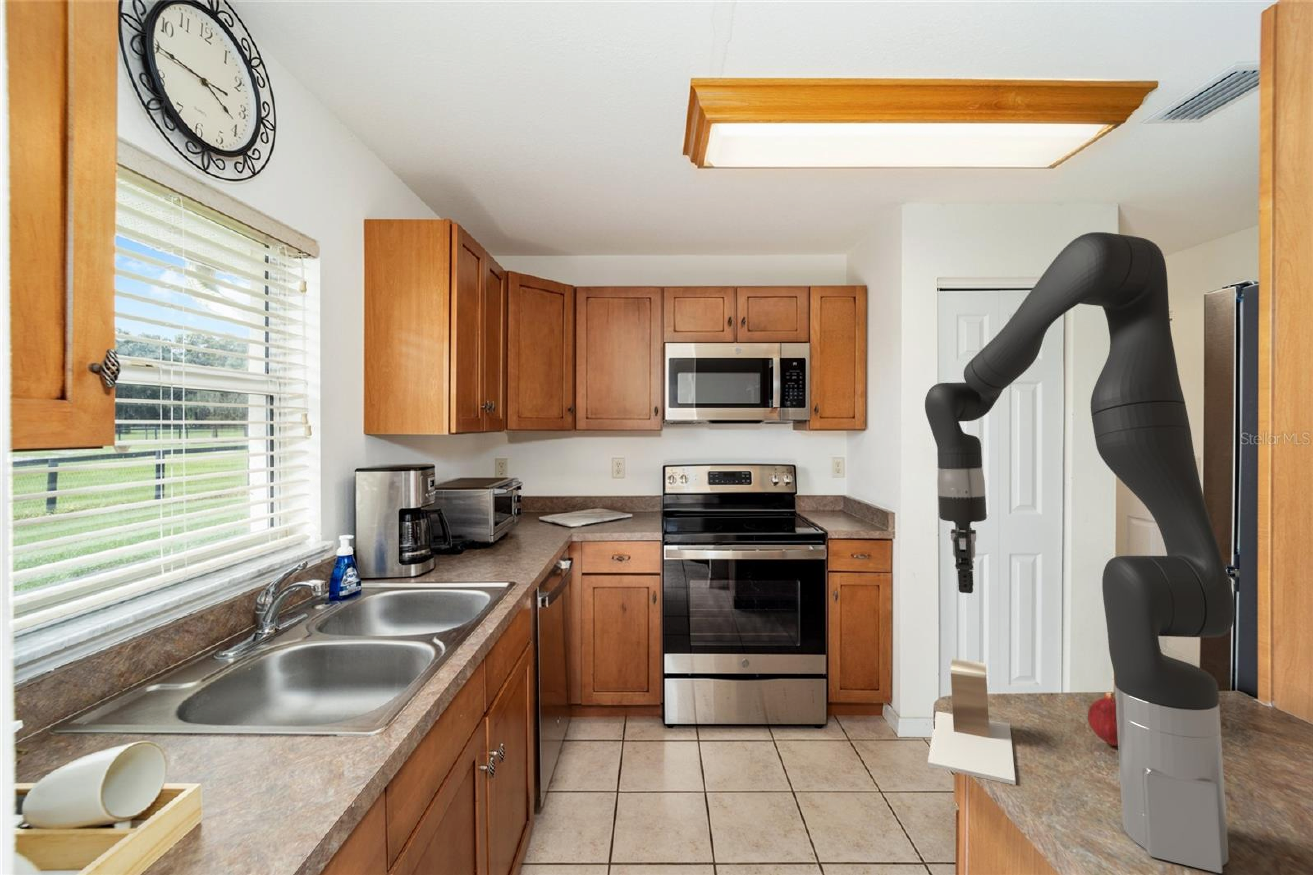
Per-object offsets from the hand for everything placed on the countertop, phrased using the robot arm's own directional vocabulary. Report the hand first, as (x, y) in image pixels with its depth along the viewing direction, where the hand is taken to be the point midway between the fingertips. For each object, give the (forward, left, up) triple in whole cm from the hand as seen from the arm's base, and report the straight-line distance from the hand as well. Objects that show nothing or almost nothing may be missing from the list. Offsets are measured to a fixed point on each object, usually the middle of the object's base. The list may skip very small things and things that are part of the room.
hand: (966, 588), depth 102 cm
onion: (-5, -19, -21) cm, 29 cm away
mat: (-14, 0, -21) cm, 25 cm away
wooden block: (-9, 0, -21) cm, 23 cm away
